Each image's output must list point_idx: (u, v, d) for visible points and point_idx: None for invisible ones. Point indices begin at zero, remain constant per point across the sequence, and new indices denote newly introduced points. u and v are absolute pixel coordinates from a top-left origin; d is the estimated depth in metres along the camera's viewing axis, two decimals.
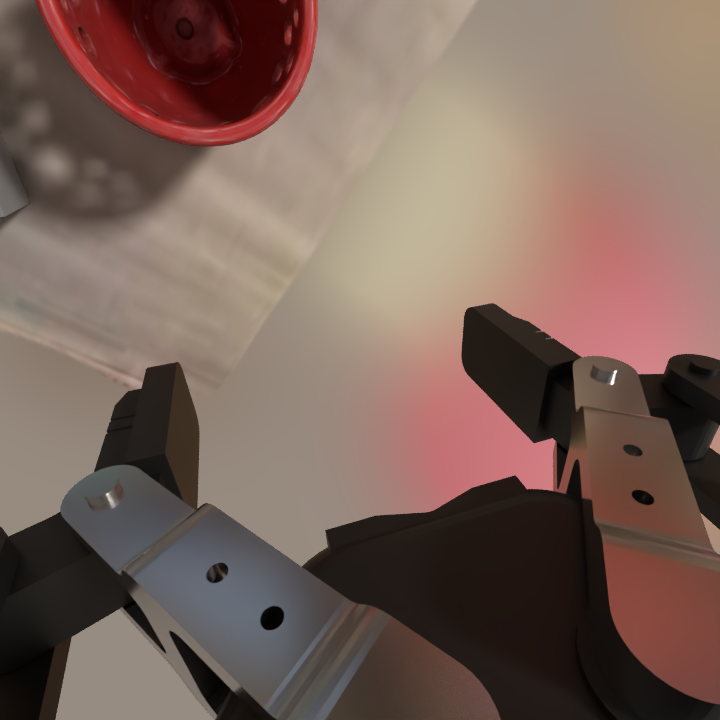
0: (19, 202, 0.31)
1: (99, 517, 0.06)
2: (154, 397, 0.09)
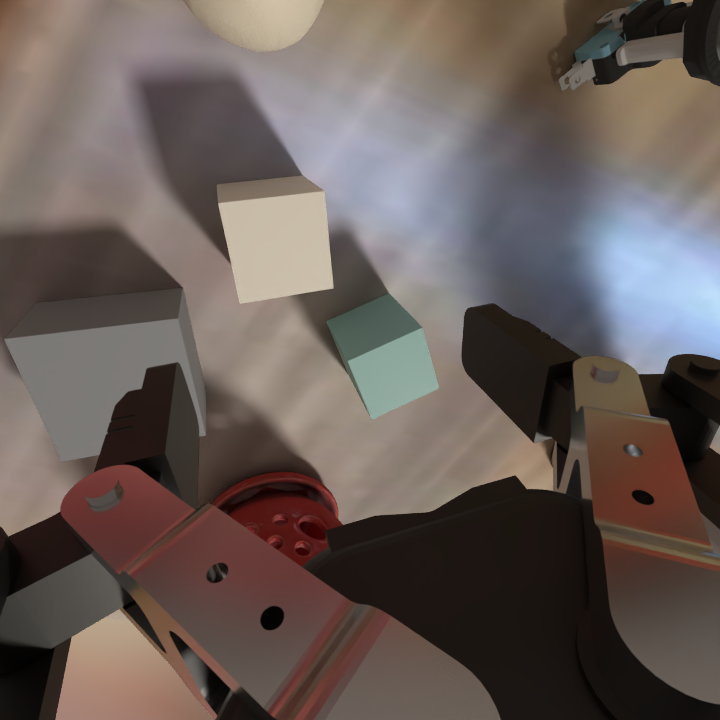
0: None
1: (99, 517, 0.06)
2: (154, 397, 0.09)
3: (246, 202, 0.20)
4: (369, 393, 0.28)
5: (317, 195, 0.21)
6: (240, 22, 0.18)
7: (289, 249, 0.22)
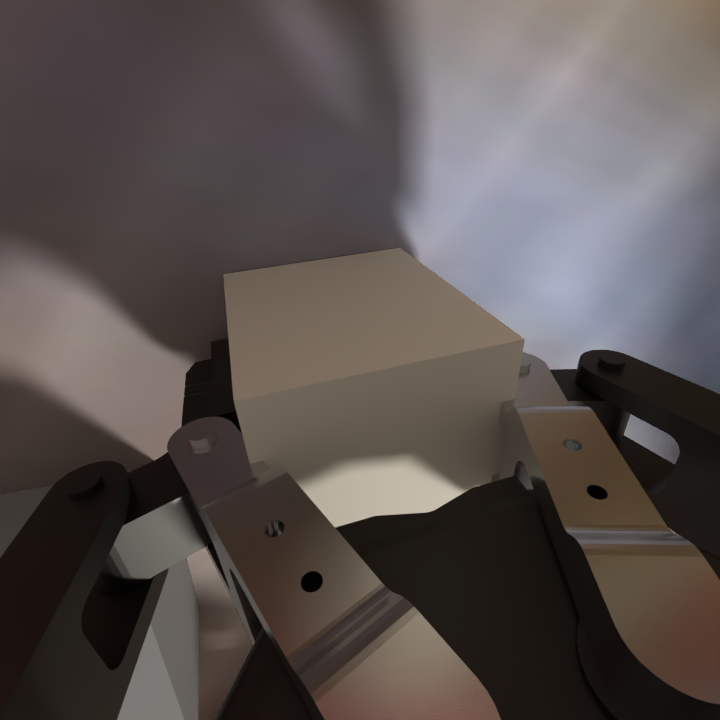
0: None
1: (204, 456, 0.07)
2: (225, 365, 0.10)
3: (315, 390, 0.07)
4: None
5: (504, 350, 0.08)
6: None
7: (413, 475, 0.09)
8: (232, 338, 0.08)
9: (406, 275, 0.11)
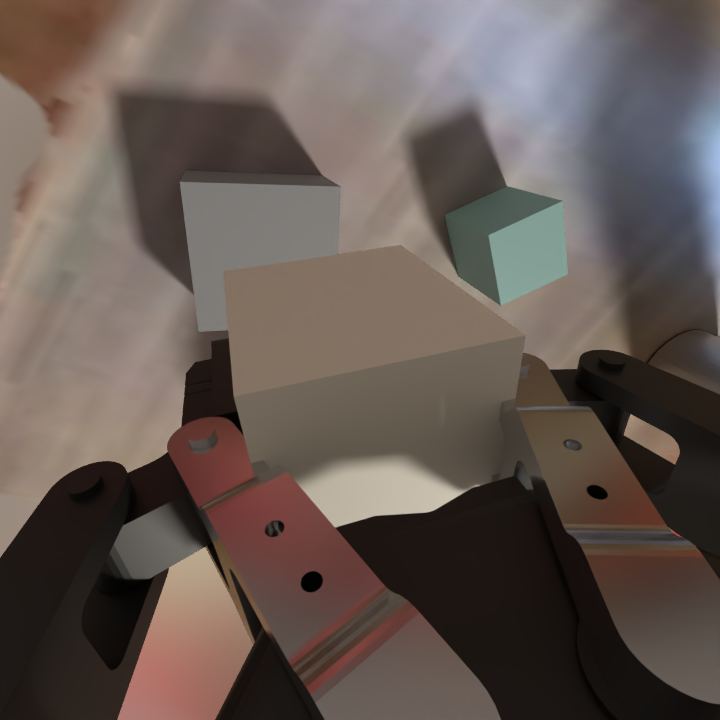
0: None
1: (204, 456, 0.07)
2: (225, 365, 0.10)
3: (316, 386, 0.07)
4: (503, 275, 0.27)
5: (505, 346, 0.08)
6: None
7: (413, 472, 0.08)
8: (232, 334, 0.08)
9: (406, 272, 0.11)
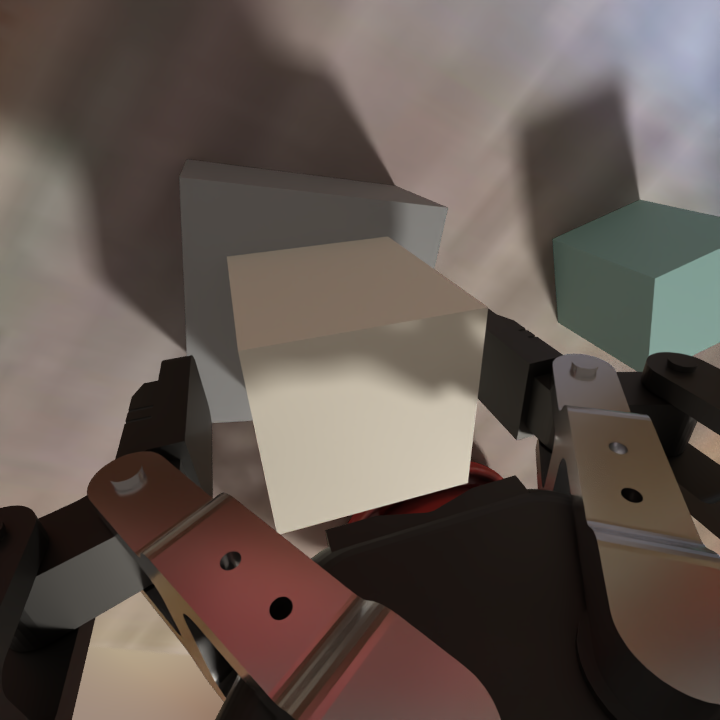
0: None
1: (125, 500, 0.07)
2: (171, 388, 0.09)
3: (307, 344, 0.08)
4: (660, 335, 0.18)
5: (471, 317, 0.09)
6: None
7: (392, 428, 0.10)
8: (236, 306, 0.10)
9: (391, 258, 0.12)
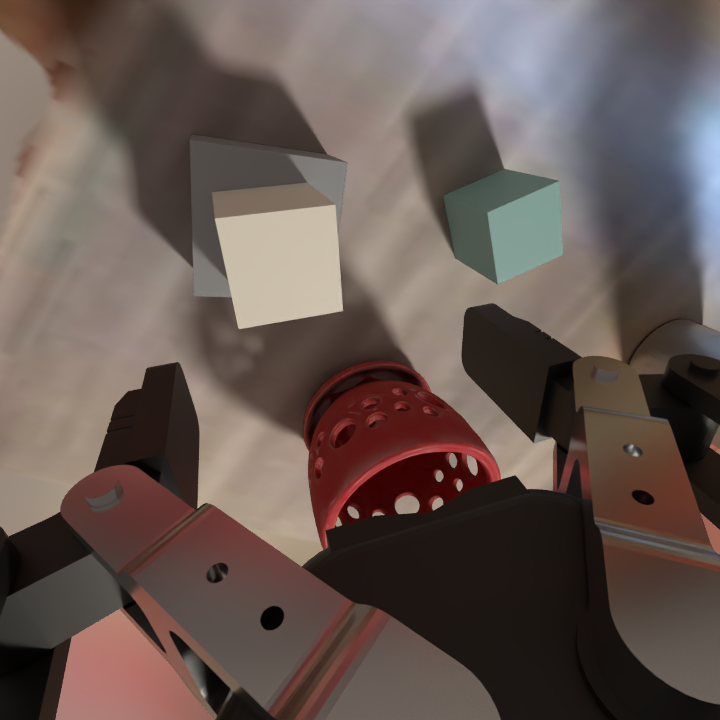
0: None
1: (99, 517, 0.06)
2: (154, 397, 0.09)
3: (247, 218, 0.18)
4: (500, 253, 0.28)
5: (327, 209, 0.19)
6: None
7: (294, 269, 0.19)
8: (215, 207, 0.19)
9: (302, 190, 0.22)
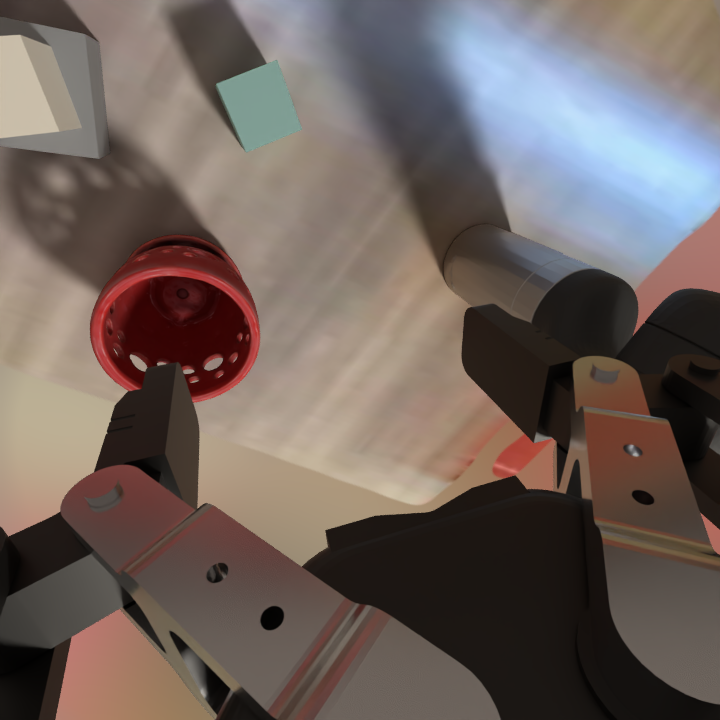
0: None
1: (99, 517, 0.06)
2: (154, 397, 0.09)
3: None
4: (240, 123, 0.35)
5: (14, 38, 0.25)
6: None
7: (3, 90, 0.26)
8: None
9: None
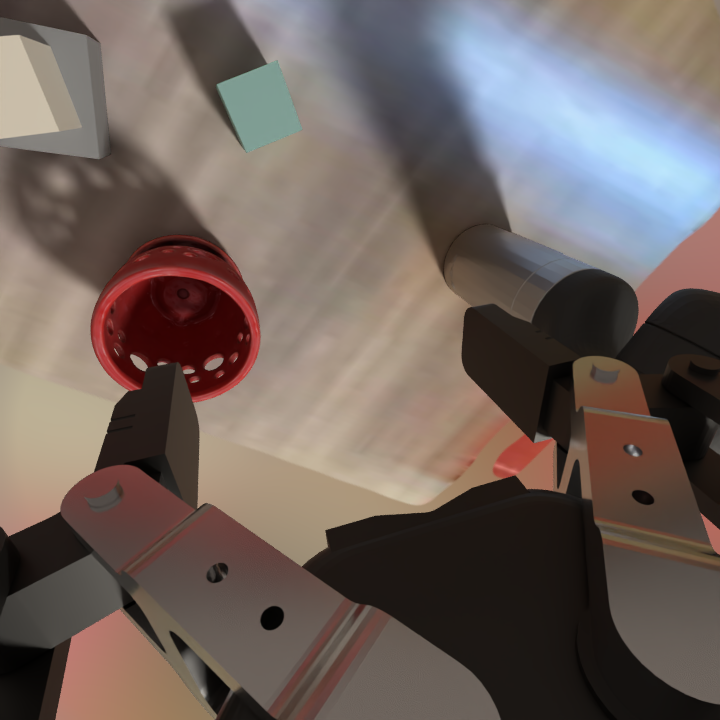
0: None
1: (99, 517, 0.06)
2: (154, 397, 0.09)
3: None
4: (241, 123, 0.35)
5: (13, 39, 0.25)
6: None
7: (3, 91, 0.26)
8: None
9: None
